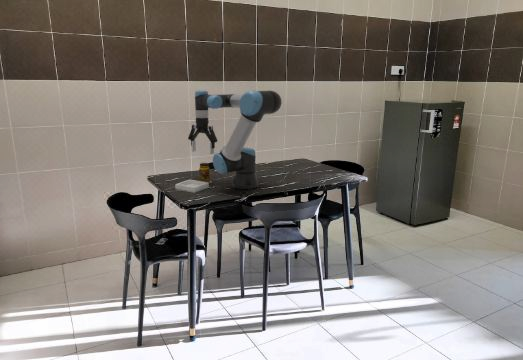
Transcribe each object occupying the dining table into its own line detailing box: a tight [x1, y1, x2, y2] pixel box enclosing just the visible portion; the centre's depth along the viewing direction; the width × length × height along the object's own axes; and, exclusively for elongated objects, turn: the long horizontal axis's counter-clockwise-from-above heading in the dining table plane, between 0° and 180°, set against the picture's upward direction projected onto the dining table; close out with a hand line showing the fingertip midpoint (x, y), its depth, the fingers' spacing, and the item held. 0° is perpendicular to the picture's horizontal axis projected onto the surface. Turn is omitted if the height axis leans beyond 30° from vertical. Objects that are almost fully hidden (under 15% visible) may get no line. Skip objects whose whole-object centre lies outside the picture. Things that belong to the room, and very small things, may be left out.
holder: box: [174, 179, 210, 194], centre depth 229 cm, size 14×13×3 cm
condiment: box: [198, 162, 213, 184], centre depth 242 cm, size 7×8×12 cm
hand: (202, 152), depth 239 cm, fingers open, 13 cm apart
